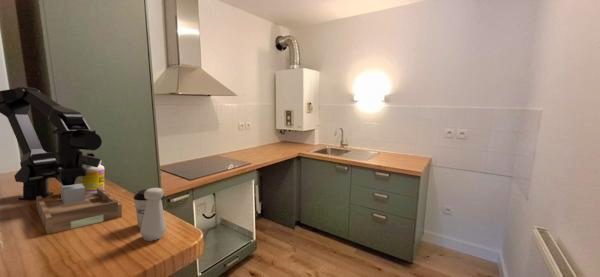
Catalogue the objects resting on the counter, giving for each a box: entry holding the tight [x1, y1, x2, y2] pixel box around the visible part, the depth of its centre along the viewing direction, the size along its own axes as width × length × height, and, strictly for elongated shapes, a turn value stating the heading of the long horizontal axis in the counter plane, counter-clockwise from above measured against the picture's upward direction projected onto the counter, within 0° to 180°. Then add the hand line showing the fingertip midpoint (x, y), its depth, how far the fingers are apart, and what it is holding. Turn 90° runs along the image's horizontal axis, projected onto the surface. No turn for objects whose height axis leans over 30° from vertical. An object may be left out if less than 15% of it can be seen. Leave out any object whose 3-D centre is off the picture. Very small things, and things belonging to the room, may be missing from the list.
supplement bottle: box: [81, 160, 105, 195], centre depth 96 cm, size 7×7×13 cm
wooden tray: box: [35, 187, 123, 235], centre depth 76 cm, size 24×16×5 cm, turn 51°
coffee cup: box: [133, 188, 148, 229], centre depth 71 cm, size 7×7×10 cm
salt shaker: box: [139, 187, 167, 242], centre depth 64 cm, size 6×6×13 cm
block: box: [60, 183, 86, 204], centre depth 81 cm, size 6×5×4 cm
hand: (69, 192), depth 85 cm, fingers closed
